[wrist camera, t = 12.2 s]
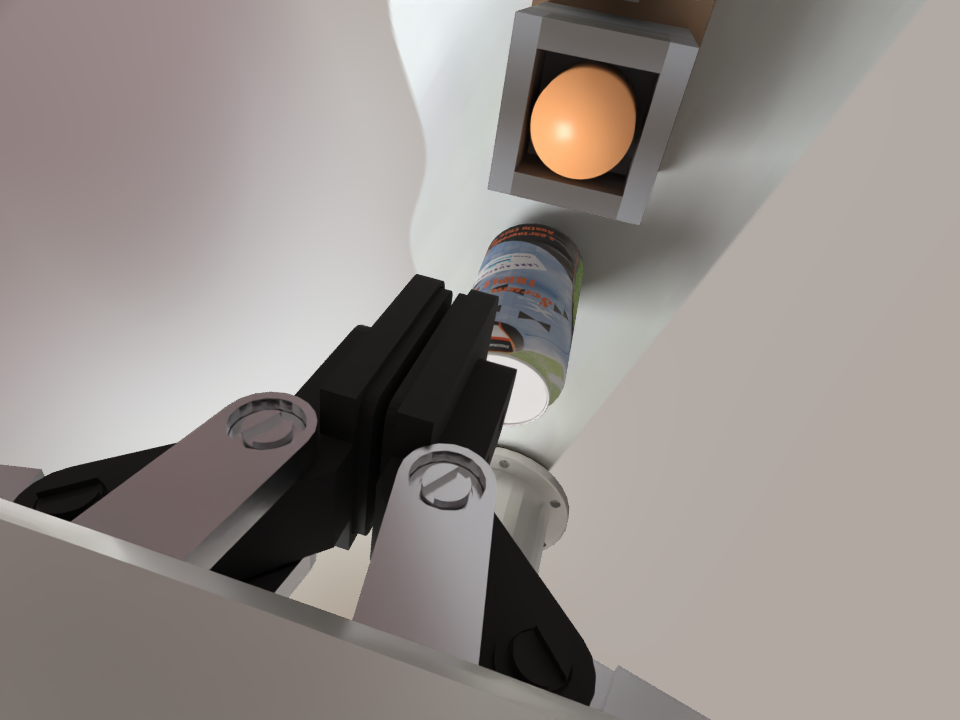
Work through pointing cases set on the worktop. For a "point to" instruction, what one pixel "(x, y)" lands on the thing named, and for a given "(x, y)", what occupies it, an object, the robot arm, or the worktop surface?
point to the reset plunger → (584, 120)
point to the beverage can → (532, 312)
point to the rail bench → (623, 44)
